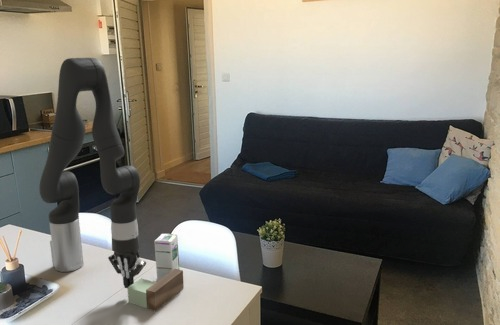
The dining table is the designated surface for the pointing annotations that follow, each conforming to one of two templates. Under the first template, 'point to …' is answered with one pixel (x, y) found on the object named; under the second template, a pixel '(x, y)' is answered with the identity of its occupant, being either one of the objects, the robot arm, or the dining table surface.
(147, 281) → the sage block
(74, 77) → the robot arm
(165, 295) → the walnut board
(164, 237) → the syrup box
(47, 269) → the dining table surface
